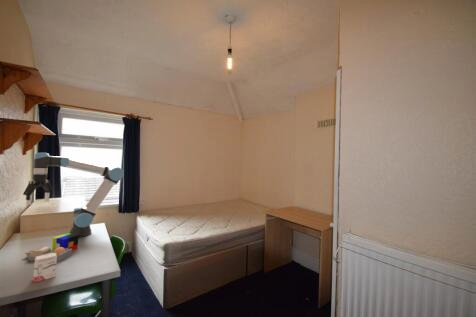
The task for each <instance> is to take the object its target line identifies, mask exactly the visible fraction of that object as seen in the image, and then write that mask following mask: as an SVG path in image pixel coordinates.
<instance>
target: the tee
mask: <svg viewBox="0 0 476 317" xmlns="http://www.w3.org/2000/svg"><path fill="white" fill-rule="evenodd" d="M35 251H36V250H29V251H26V252H25V253H24V255H26V259H28V257H29V255H30V254H31V253H32V252H35Z"/></svg>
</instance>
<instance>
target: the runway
mask: <svg viewBox="0 0 476 317" xmlns="http://www.w3.org/2000/svg"><path fill="white" fill-rule="evenodd" d="M34 251H35V252H32V253H31V254H30V255H29V257H28V258H27V261H34V262H35V257H37V256H41V255H46V254H50V253H53V252H54V251H52V248H51V247H49V246H44V247H42V248H40V249H38V250H34ZM72 255H73V251H72V249H69V250H65V252H63V253H61V254H59V255H58V256H57V263H58V262H59V263H60V262H61V261H62V260H64V259H65V260H66V258H68V257H70V256H72Z"/></svg>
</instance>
